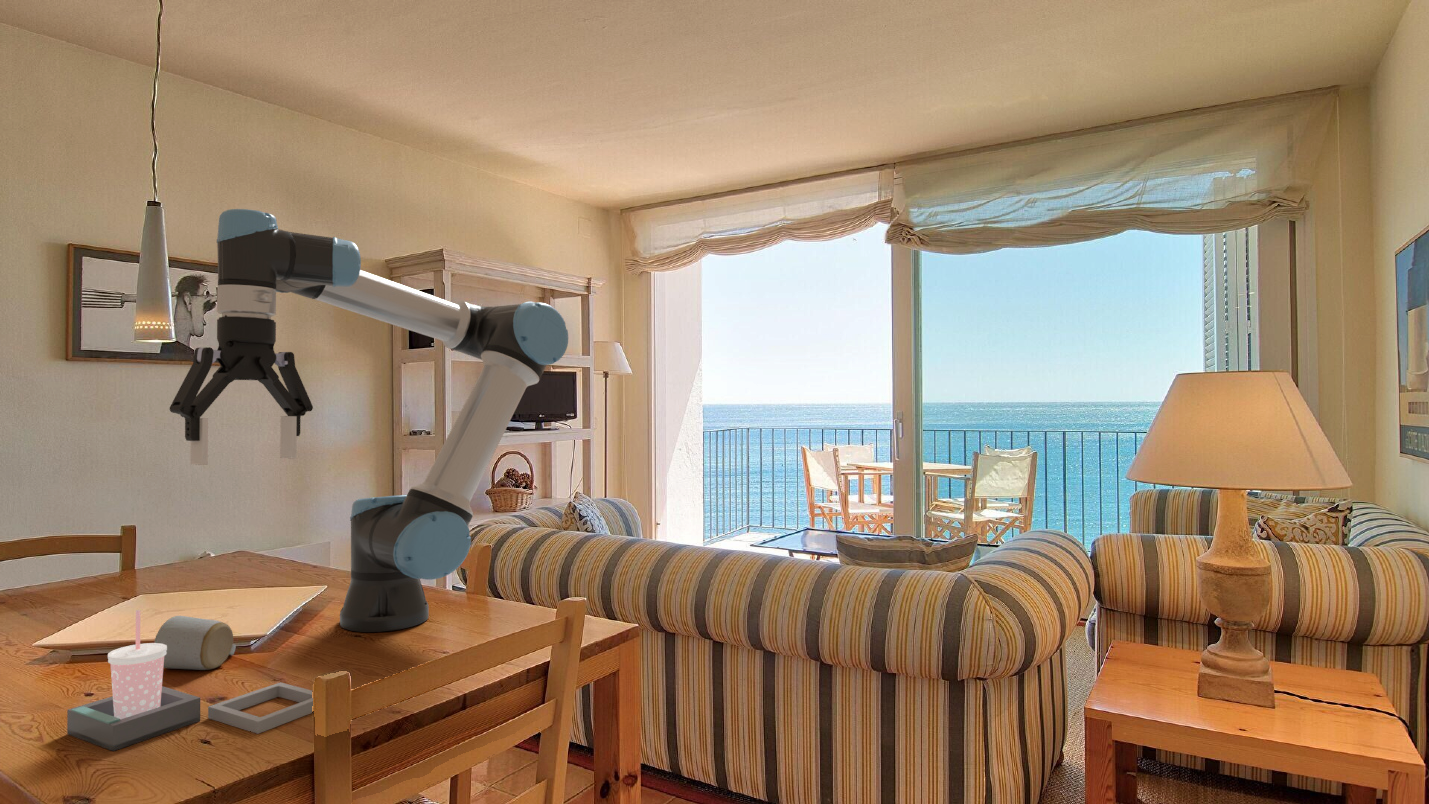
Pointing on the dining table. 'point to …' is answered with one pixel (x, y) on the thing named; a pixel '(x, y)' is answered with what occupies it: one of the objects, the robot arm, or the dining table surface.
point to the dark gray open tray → (132, 720)
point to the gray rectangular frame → (234, 717)
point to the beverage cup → (137, 676)
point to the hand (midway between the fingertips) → (245, 461)
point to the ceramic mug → (195, 643)
